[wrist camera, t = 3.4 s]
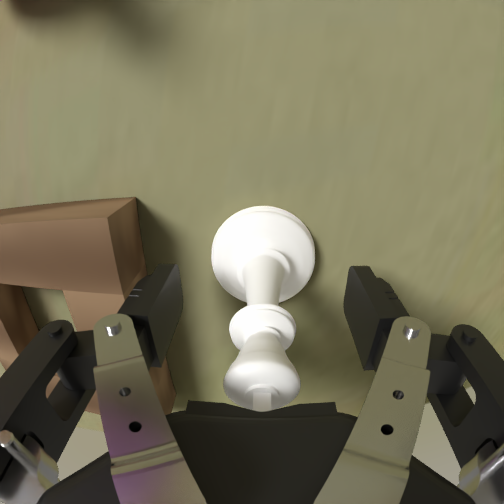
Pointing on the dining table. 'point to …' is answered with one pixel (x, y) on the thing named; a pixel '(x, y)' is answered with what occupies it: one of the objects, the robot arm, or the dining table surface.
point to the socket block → (71, 271)
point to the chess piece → (262, 300)
